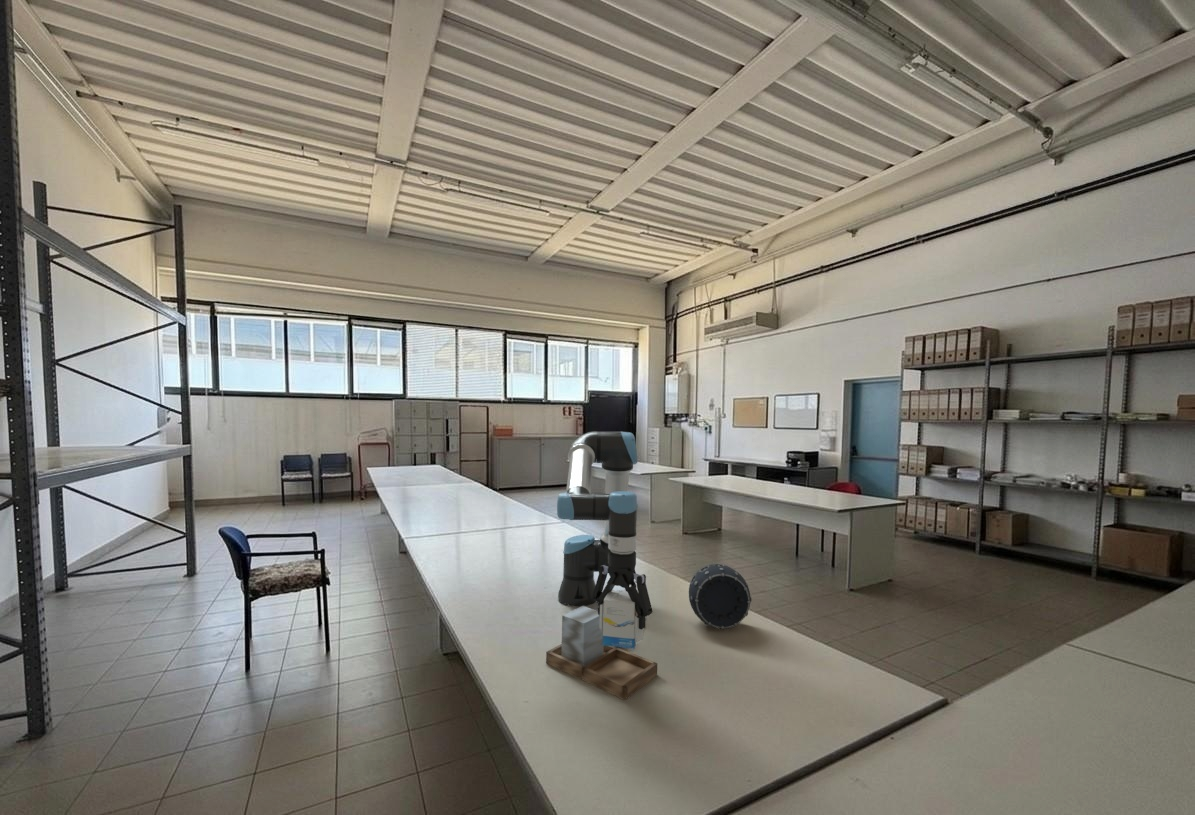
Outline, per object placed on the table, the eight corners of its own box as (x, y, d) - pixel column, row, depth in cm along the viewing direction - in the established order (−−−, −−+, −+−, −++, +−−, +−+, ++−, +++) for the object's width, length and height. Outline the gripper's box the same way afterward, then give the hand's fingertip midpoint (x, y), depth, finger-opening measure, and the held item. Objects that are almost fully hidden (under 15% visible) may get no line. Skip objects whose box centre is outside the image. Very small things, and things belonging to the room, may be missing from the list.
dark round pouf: (753, 633, 151) (754, 571, 152) (691, 632, 152) (692, 569, 152) (744, 619, 162) (744, 561, 163) (686, 618, 163) (686, 560, 163)
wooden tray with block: (546, 662, 131) (547, 615, 131) (580, 643, 143) (581, 600, 143) (625, 700, 114) (626, 645, 114) (657, 674, 126) (658, 625, 126)
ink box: (634, 649, 119) (635, 603, 120) (601, 645, 121) (602, 599, 121) (638, 634, 128) (639, 591, 128) (608, 631, 130) (608, 588, 130)
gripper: (580, 545, 130) (578, 626, 129) (651, 562, 115) (650, 653, 114) (596, 540, 135) (595, 617, 135) (667, 555, 121) (665, 642, 120)
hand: (620, 634), depth 125 cm, fingers closed on ink box, 11 cm apart
